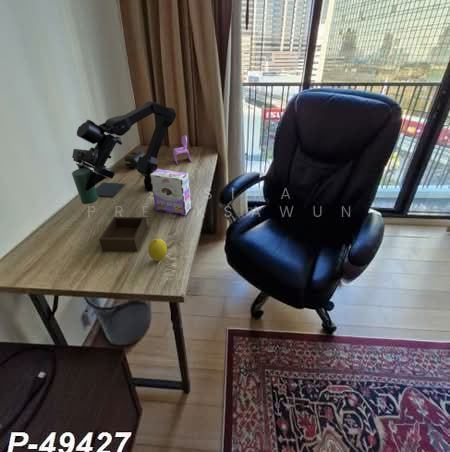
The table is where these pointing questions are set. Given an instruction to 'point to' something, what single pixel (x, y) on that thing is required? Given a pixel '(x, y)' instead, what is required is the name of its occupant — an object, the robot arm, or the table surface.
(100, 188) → the mat
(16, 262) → the table surface
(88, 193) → the tea tin
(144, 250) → the table surface
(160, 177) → the candy box
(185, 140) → the toy chair
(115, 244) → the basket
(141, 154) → the end cap
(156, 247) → the lemon
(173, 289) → the table surface
